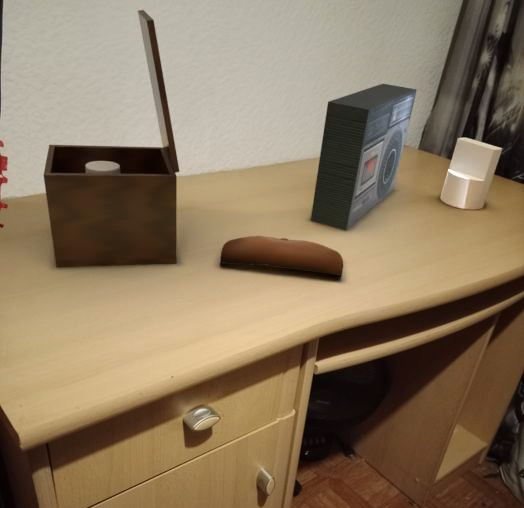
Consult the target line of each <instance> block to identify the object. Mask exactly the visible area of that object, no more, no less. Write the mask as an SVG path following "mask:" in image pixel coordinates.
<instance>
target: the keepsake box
mask: <svg viewBox="0 0 524 508" xmlns="http://www.w3.org/2000/svg"><path fill="white" fill-rule="evenodd" d="M93 161H110V162H114V163H117V164H119V165H120V173H121V174H106V173H86V168H85V165H86V164H87V163H89V162H93ZM177 179H178V178H177V174H176V173H174V172H173V170H172V167H171V165H170V162H169V160H168V157H167V155H166V152H165V150H164V147H163V146H161V147H160V146H159V147H158V146H126V145H125V146H121V145H118V146H116V145H82V144H81V145H77V144H48V149H47V154H46V160H45V165H44V171H43V182H44V188H45V189H44V190H45V196H46V204H47V211H48V218H49V223H50V225H49V226H50V233H51V239H52V246H53V253H54V261H55V267H56V268H67V267H68V268H69V267H99V266H100V267H102V266H129V265H130V266H132V265H134V266H135V265H160V264H161V265H165V264H177V243H178V242H177V241H178V240H177V235H178V234H177V233H178V232H177V230H178V229H177V227H178V226H177V224H178V223H177V222H178V221H177V219H178V217H177V213H178V211H177V209H178V208H177V200H178V199H177V195H178V193H177V190H178V189H177V187H178V186H177V185H178V183H177V182H178V181H177Z"/></svg>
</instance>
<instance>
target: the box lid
mask: <svg viewBox="0 0 524 508" xmlns="http://www.w3.org/2000/svg"><path fill="white" fill-rule="evenodd" d="M137 15H138V20H139V26H140V30H141V31H140V32H141V36H142V41H143V47H144V52H145V58H146V64H147V69H148V74H149V80H150V86H151V90H152V97H153V101H154V107H155V112H156V118H157V124H158V129H159V134H160V140H161V144H162V147H164V150H165V152H166V155H167V157H168V160H169V162H170V165H171V167H172V170H173V172H174V173H175V174H176V173H180V165H179V160H178V155H177V149H176V148H177V147H176V143H175V137H174V132H173V125H172V124H173V123H172V120H171V113H170V108H169V102H168V96H167V90H166V84H165V79H164V72H163V67H162V61H161V56H160V49H159V44H158V38H157V31H156V26H155V20H154V19H153V18H152V17H151V16H150V15H149V14H148V13H147V12H146V10H144V9H140V10H139V9H138V10H137Z"/></svg>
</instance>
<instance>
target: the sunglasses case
mask: <svg viewBox="0 0 524 508" xmlns="http://www.w3.org/2000/svg"><path fill="white" fill-rule="evenodd" d="M221 264H227V265H228V264H229V265H230V264H231V265H232V264H233V265H245V266H246V265H247V266H249V265H253V266H268V267H274V268H280V269H281V268H282V269H292V270H293V269H294V270H299V271H305V272H314V273H315V272H316V273H323V274H330V275H334V276H338V277H339V278H342V276H343V269H344V260H343V257H342V255H341V254H340V252H339V251H337V250H335V249H333V248H330V247H328V246H326V245H323V244H320V243H317V242H313V241H308V240H297V239H289V238H286V237H281V238H278V237H272V236H264V235H251V236H242V237H237V238H233V239H229V240H227V241H225V242H224V244H223V246H222V249H221V253H220V265H221Z"/></svg>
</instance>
